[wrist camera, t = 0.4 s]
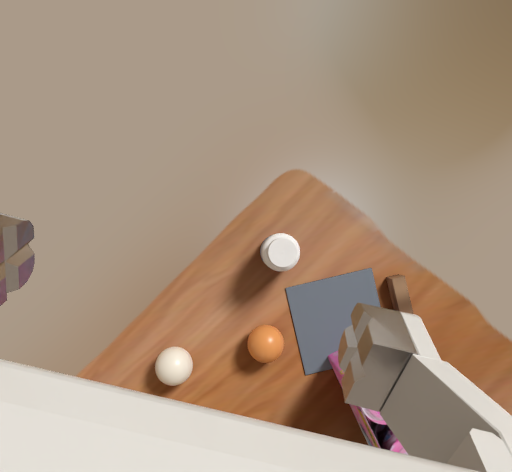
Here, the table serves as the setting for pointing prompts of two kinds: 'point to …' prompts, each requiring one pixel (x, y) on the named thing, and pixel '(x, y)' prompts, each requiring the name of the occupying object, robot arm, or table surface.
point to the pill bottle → (280, 252)
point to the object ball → (265, 343)
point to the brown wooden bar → (399, 293)
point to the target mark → (327, 313)
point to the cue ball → (173, 366)
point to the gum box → (370, 420)
